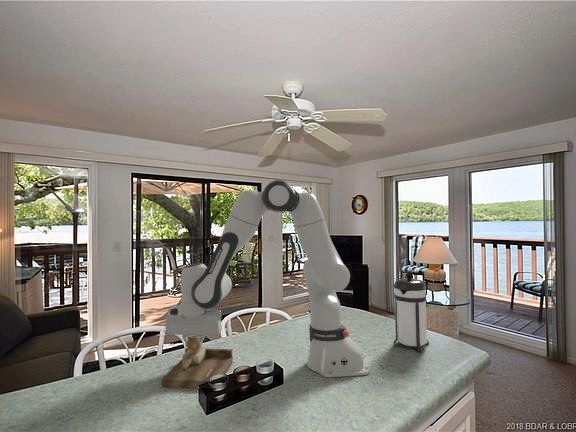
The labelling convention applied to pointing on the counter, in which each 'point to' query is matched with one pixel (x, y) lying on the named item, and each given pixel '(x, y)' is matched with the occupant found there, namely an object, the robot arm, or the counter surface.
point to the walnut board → (199, 370)
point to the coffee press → (410, 312)
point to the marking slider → (193, 353)
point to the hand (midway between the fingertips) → (194, 346)
